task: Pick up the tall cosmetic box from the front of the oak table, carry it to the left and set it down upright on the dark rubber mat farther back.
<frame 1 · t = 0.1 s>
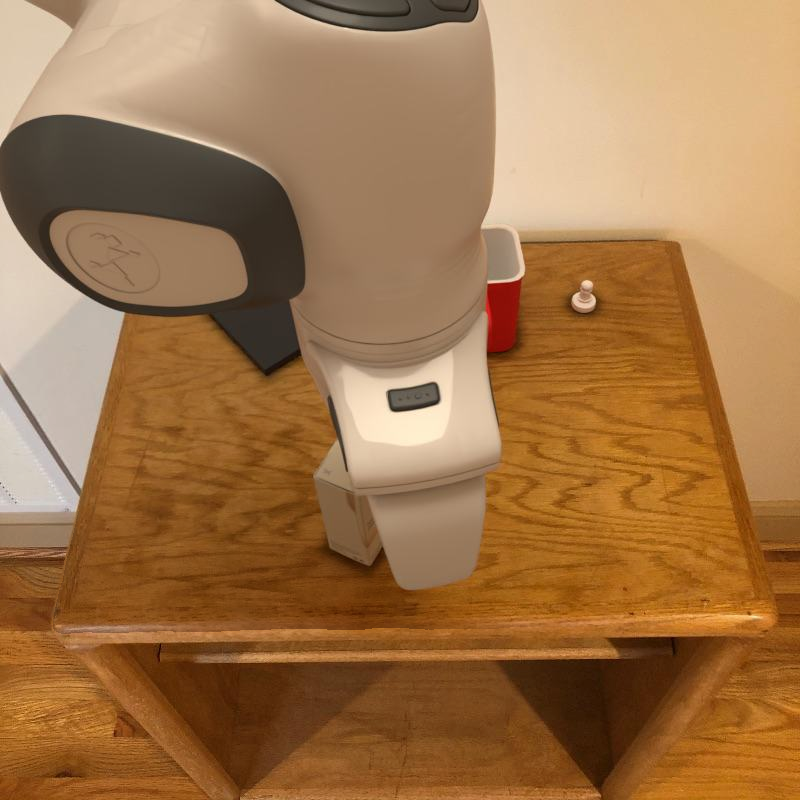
hand: (402, 469, 47), 23 cm above the table, tool pointing down, fingers open, 8 cm apart
rubber mat: (281, 316, 87), on the table
cosmetic box: (366, 530, 71), on the table
chess pawn: (582, 306, 86), on the table
mug: (477, 340, 84), on the table
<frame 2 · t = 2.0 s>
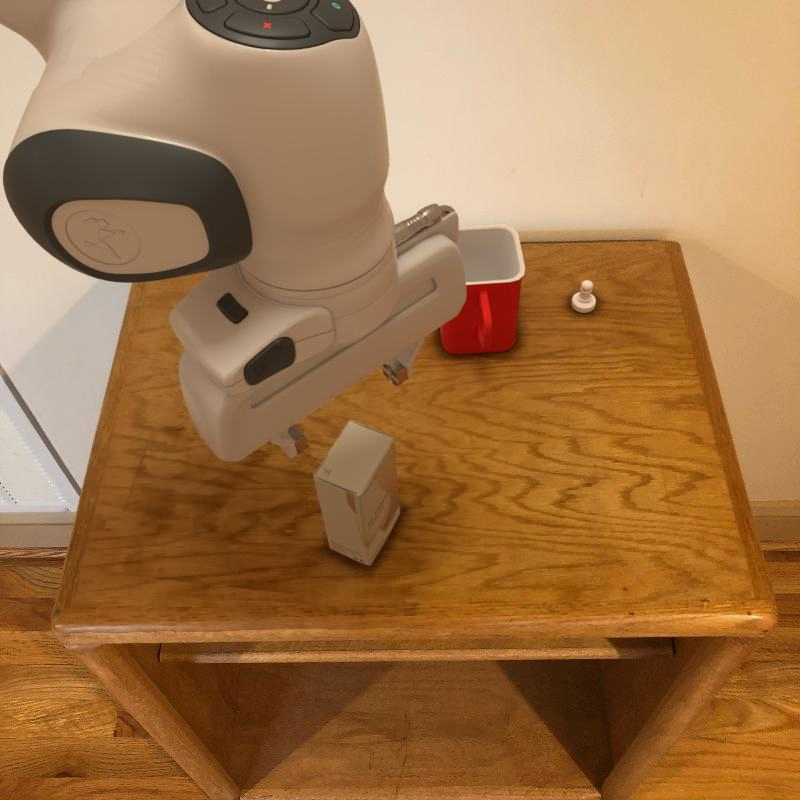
hand: (347, 410, 56), 18 cm above the table, tool pointing down, fingers open, 8 cm apart
nothing on the table moved.
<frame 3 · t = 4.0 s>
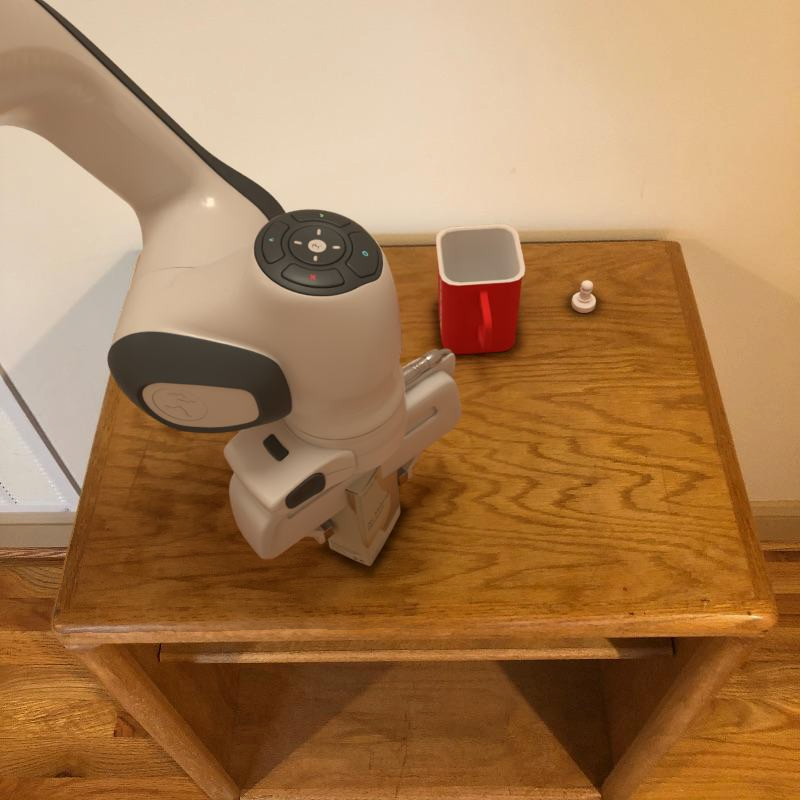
hand: (361, 504, 67), 5 cm above the table, tool pointing down, fingers closed on cosmetic box, 7 cm apart
cosmetic box: (366, 530, 71), on the table, touching gripper
everything else where it was.
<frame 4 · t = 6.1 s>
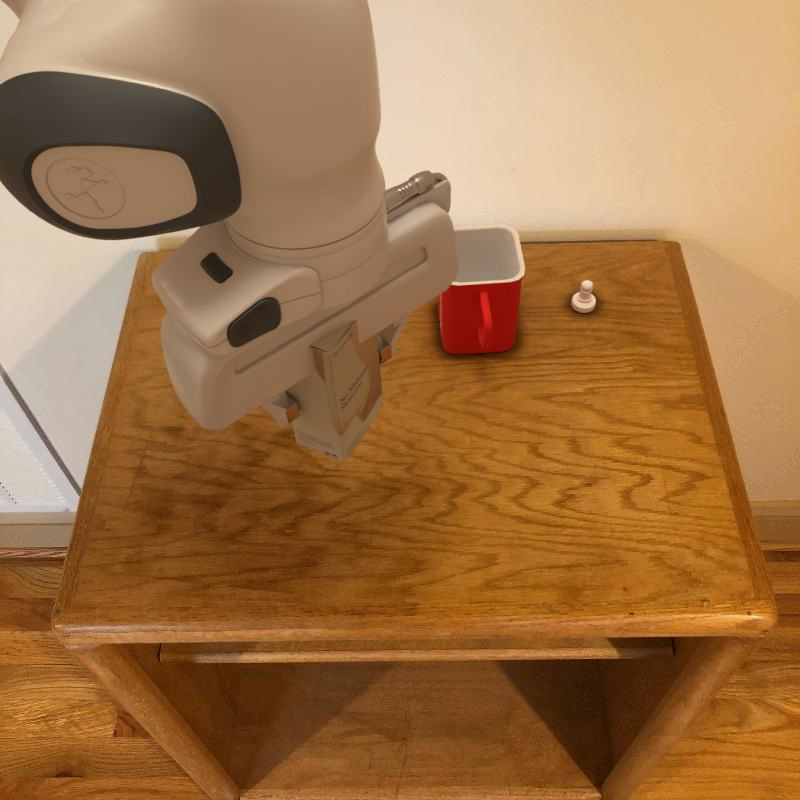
hand: (334, 385, 55), 20 cm above the table, tool pointing down, fingers closed on cosmetic box, 7 cm apart
cosmetic box: (341, 424, 59), point 16 cm above the table, touching gripper
everything else where it was.
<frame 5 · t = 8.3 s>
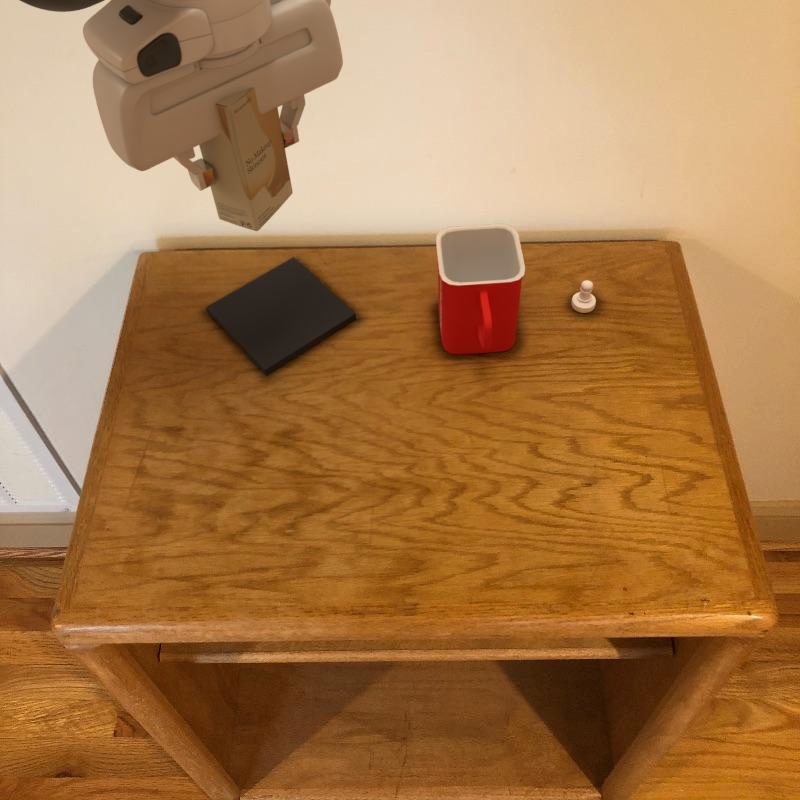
hand: (246, 163, 67), 23 cm above the table, tool pointing down, fingers closed on cosmetic box, 7 cm apart
cosmetic box: (258, 207, 71), point 18 cm above the table, touching gripper
everything else where it was.
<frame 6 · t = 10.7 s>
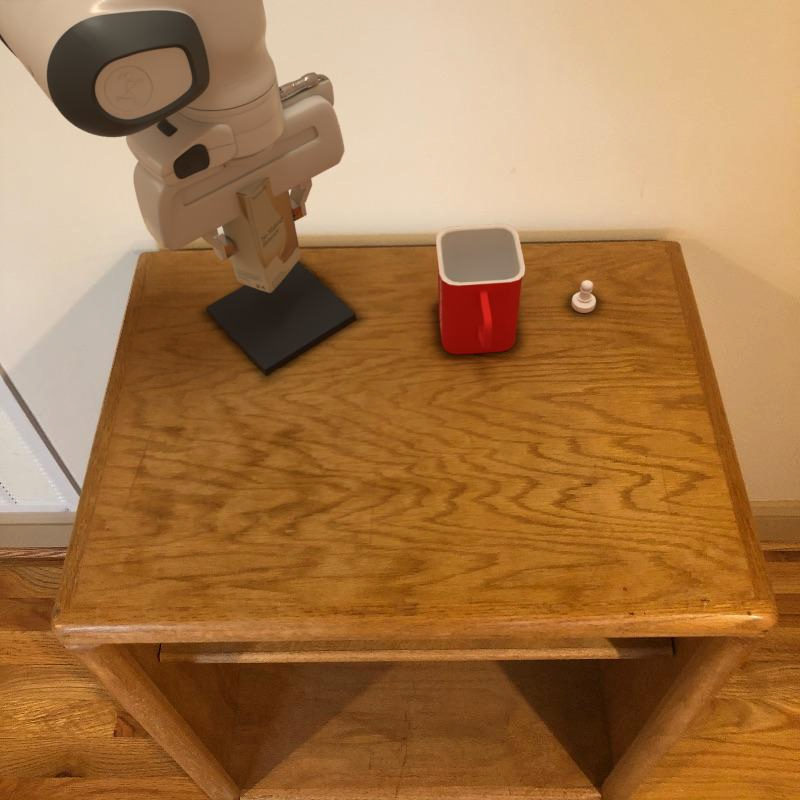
hand: (261, 235, 78), 12 cm above the table, tool pointing down, fingers closed on cosmetic box, 7 cm apart
cosmetic box: (270, 270, 82), point 7 cm above the table, touching gripper
everything else where it was.
when the fingers open (6 cm above the table, at t = 12.9 s): cosmetic box stays where it is, resting on rubber mat.
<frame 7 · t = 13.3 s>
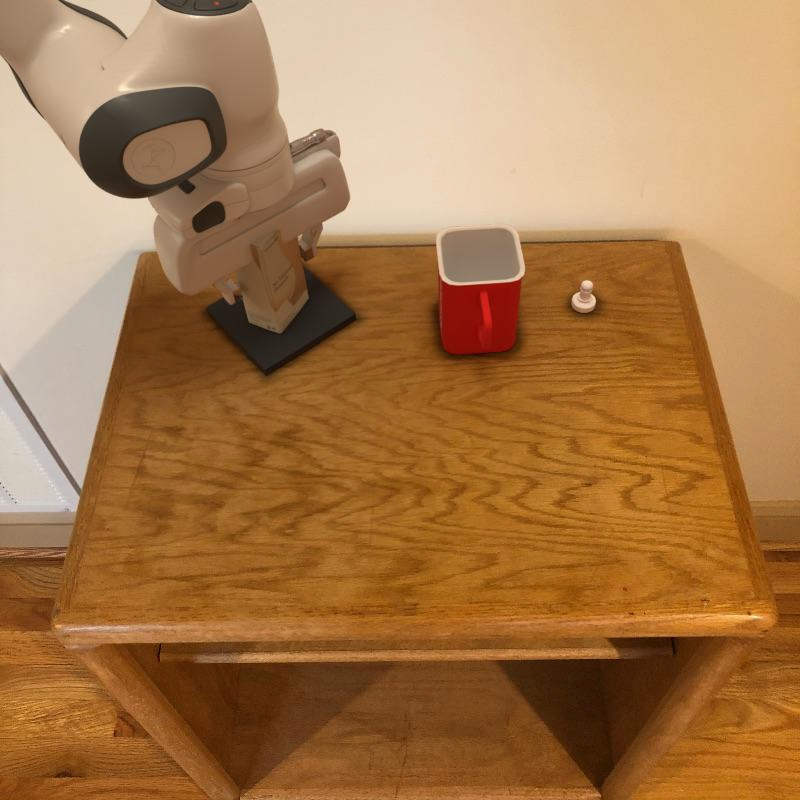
hand: (271, 276, 82), 6 cm above the table, tool pointing down, fingers open, 8 cm apart
cosmetic box: (280, 311, 86), point 1 cm above the table, touching rubber mat
everything else where it was.
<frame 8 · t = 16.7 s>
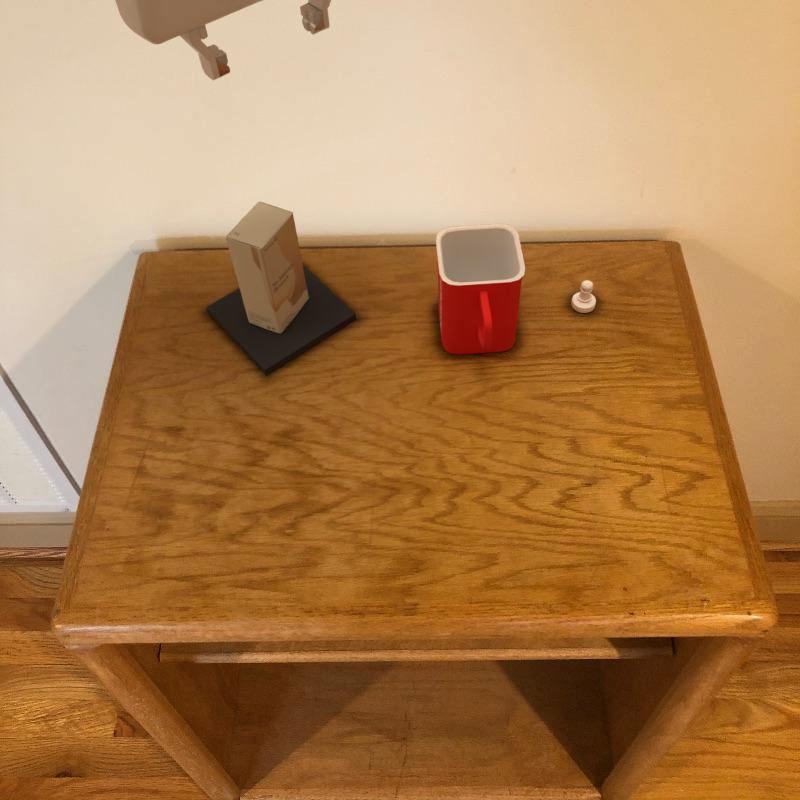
hand: (268, 51, 62), 31 cm above the table, tool pointing down, fingers open, 8 cm apart
nothing on the table moved.
at the end: cosmetic box inside the target area on the rubber mat (0.0 cm from its centre), point 0.8 cm above the rubber mat's base; cosmetic box tilted 0°; cosmetic box moved 28.5 cm from its start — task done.
